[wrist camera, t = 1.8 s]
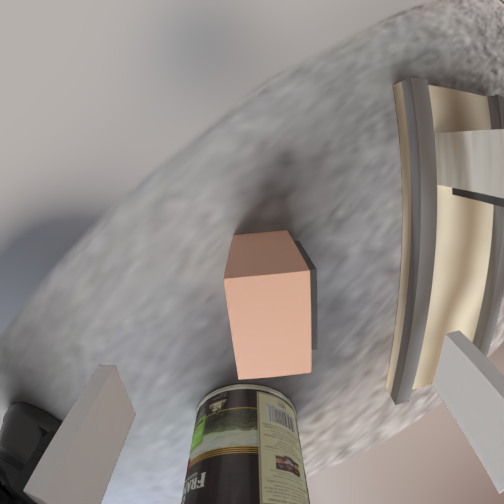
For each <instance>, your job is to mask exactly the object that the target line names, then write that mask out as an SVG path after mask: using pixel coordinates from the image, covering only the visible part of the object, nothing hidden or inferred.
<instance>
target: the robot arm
mask: <svg viewBox="0 0 504 504" xmlns="http://www.w3.org/2000/svg"><path fill="white" fill-rule="evenodd" d="M432 386H433V387H434V389H435V390H436V392H437V393H438V395H439V396H440V397H441V399H442V400H443V402H444V403H445V405H446V406H447V408H448V409H449V411H450V412H451V414H452V416H453V417H454V419H455V420H456V422H457V423H458V425H459V426H460V428H461V430H462V431H463V433H464V434H465V436H466V438H467V439H468V441H469V442H470V444H471V446H472V447H473V449H474V451H475V452H476V454H477V456H478V457H479V459H480V460H481V462H482V464H483V466H484V467H485V469H486V471H487V472H488V474H489V476H490V478H491V480H492V481H493V483H494V485H495V487H496V488H497V490H498V492H499V493H501V492H503V491H504V375H503V374H502V373H501V372H500V371H499V370H498V369H497V367H496V366H495V365H494V364H493V363H491V361H490V360H489V359H488V358H487V357H486V356H485V355H484V354H483V353H482V352H481V351H480V350H479V349H478V348H477V347H476V346H475V345H474V344H473V343H472V342H471V341H470V340H469V339H468V338H467V337H466V336H465V335H464V334H463V333H462V332H461V331H460V330H458V331H454V332H451V333H447V334H445V338H444V342H443V346H442V350H441V354H440V358H439V362H438V366H437V370H436V373H435V377H434V380H433V383H432ZM135 415H136V413H135V411H134V409H133V407H132V404H131V402H130V400H129V398H128V395H127V393H126V391H125V388H124V386H123V383H122V381H121V378H120V376H119V373H118V371H117V368H116V366H108V365H99V367H98V368H97V370H96V371H95V373H94V374H93V376H92V377H91V379H90V380H89V382H88V383H87V385H86V386H85V388H84V389H83V391H82V393H81V394H80V396H79V397H78V399H77V400H76V402H75V403H74V405H73V407H72V408H71V410H70V411H69V413H68V415H67V416H66V418H65V419H64V421H63V423H61V422H59V421H58V420H57V419H55V418H54V417H52V416H51V415H49V414H47V413H46V412H44V411H42V410H40V409H38V408H36V407H34V406H32V405H29V404H25V403H14V404H12V405H11V407H10V408H9V409H8V410H7V412H6V413H5V415H4V418H3V424H2V427H1V431H0V504H101V502H102V500H103V497H104V494H105V491H106V489H107V486H108V483H109V481H110V478H111V475H112V473H113V470H114V468H115V465H116V463H117V460H118V457H119V455H120V452H121V450H122V447H123V445H124V442H125V440H126V437H127V435H128V432H129V430H130V427H131V425H132V423H133V420H134V418H135Z"/></svg>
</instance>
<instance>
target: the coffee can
mask: <svg viewBox="0 0 504 504" xmlns="http://www.w3.org/2000/svg"><path fill="white" fill-rule="evenodd" d="M181 504H310V501H309V494H308V488H307V482H306V475H305V470H304V463H303V457H302V451H301V445H300V439H299V433H298V427H297V421H296V410H295V408H294V405H293V404H292V402H291V401H290V400H289V399H288V398H287V397H286V396H285V395H283V394H282V393H280V392H278V391H276V390H274V389H271V388H269V387H265V386H261V385H251V384H237V385H230V386H226V387H223V388H219V389H217V390H215V391H213V392H211V393H210V394H208V395H207V396H206V397H205V398H204V399H202V401H201V402H200V404H199V406H198V408H197V411H196V422H195V427H194V433H193V438H192V444H191V450H190V456H189V461H188V467H187V473H186V478H185V485H184V490H183V496H182V502H181Z"/></svg>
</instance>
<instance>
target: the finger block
mask: <svg viewBox="0 0 504 504" xmlns="http://www.w3.org/2000/svg"><path fill="white" fill-rule="evenodd" d="M224 286H225V293H226V300H227V307H228V314H229V321H230V328H231V334H232V341H233V348H234V354H235V361H236V367H237V373H238V379H239V380H241V379H255V378H267V377H277V376H287V375H296V374H304V373H311V350H315V349H317V277H316V268H315V266H314V264H313V263H312V261H311V259H310V258H309V256H308V255H307V253H306V251H305V250H304V248H303V247H302V245H301V243H300V242H299V241H293V239H292V238H291V236H290V234H289V232H288V230H282V231H271V232H260V233H250V234H239V235H233V239H232V243H231V247H230V252H229V256H228V261H227V265H226V270H225V275H224Z"/></svg>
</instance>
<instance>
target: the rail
mask: <svg viewBox="0 0 504 504" xmlns="http://www.w3.org/2000/svg"><path fill="white" fill-rule="evenodd" d="M393 89H394V95H395V103H396V111H397V119H398V129H399V140H400V153H401V170H402V205H403V221H402V256H401V273H400V286H399V298H398V308H397V317H396V325H395V332H394V340H393V346H392V353H391V359H390V365H389V370H388V376H387V381H386V388H387V390H388V392H389V394H390V395H391V397H392V399H393V401H394V403H395V405H396V404H400V403H404V402H407V401H409V399H410V395H411V392H412V389H416V388H419V387H423V386H426V385H430V384H432V383H433V380H434V377H435V373H436V370H437V366H438V362H439V358H440V354H441V350H442V346H443V342H444V338H445V334H447V333H451V332H454V331H458V330H460V331H461V332H462V333H463V334H464V335H465V336H466V337H467V338H468V339H469V340H470V341H471V342H472V343H473V344H474V345H475V346H476V347H477V348H478V349H479V350H480V351H481V352H482V353H483V354H484V355H485V356H486V357H487V354H488V350H489V347H490V344H491V340H492V337H493V333H494V330H495V326H496V322H497V318H498V314H499V310H500V306H501V301H502V296H503V291H504V97H502V96H499V95H496V96H490V97H485V96H481V95H477V94H473V93H468V92H464V91H459V90H454V89H449V88H444V87H438V86H432V85H428V81H427V79H422V78H415V77H409V78H407V79H405V80H403V81H401V82H399V83H397V84H394V85H393Z"/></svg>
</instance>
